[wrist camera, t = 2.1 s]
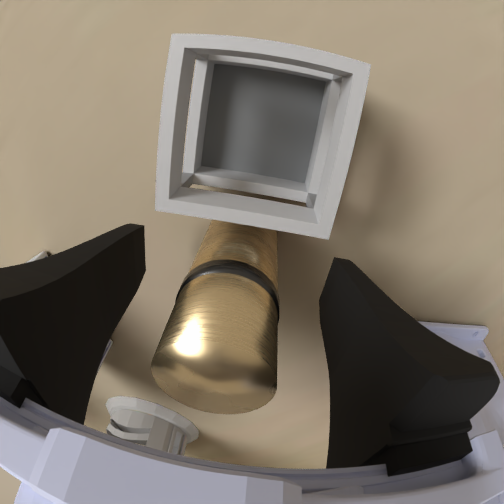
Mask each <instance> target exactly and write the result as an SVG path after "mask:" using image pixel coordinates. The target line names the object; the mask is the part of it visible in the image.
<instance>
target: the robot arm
mask: <svg viewBox="0 0 504 504" xmlns="http://www.w3.org/2000/svg"><path fill="white" fill-rule="evenodd" d="M145 271H146V265H145V239H144V226H143V225H137V224H131V223H130V224H126V225H123V226H121V227H118V228H116V229H113V230H111V231H109V232H107V233H104V234H102V235H100V236H98V237H96V238H94V239H91V240H89V241H87V242H84V243H82V244H80V245H77V246H75V247H73V248H70V249H68V250H65V251H63V252H60V253H57V254H55V255H52V256H49V257H46V258H42V259H39V260H35V261H31V262H27V263H24V264H20V265H15V266H10V267H5V268H0V467H2V468H3V469H4V470H6V471H7V472H9V473H10V474H11V475H13V476H14V477H16V478H18V479H19V480H20V481H22V482H21V485H20V487H19V490H18V493H17V496H16V499H15V502H14V504H504V447H503V446H504V379H503V377H502V375H501V373H500V371H499V369H498V367H497V365H496V363H495V361H494V359H493V357H492V356H491V354H490V352H489V350H488V348H487V347H486V345H485V343H484V341H483V340H484V338H485V337H486V336H487V334H488V331H489V330H488V328H487V327H486V326H475V325H460V324H446V323H433V322H421V321H416V320H415V319H414V318H412V317H411V316H410V315H409V314H407V313H406V312H405V311H404V310H402V309H401V308H400V307H399V306H398V305H397V304H396V303H395V302H393V301H392V300H391V299H390V298H389V297H388V296H387V295H386V294H385V293H384V292H383V291H382V290H381V289H380V288H379V287H378V286H377V285H375V284H374V283H373V282H372V281H371V280H370V279H369V278H368V277H367V276H366V275H365V274H364V273H363V272H362V271H361V270H360V269H359V268H358V267H357V266H356V265H355V264H354V263H353V262H351V261H350V260H347V259H341V258H335V257H334V260H333V263H332V265H331V268H330V271H329V274H328V277H327V280H326V283H325V286H324V288H323V291H322V294H321V297H320V299H319V307H320V324H321V330H322V335H323V341H324V347H325V352H326V358H327V364H328V370H329V379H330V433H329V448H328V457H327V466H326V469H287V468H268V467H255V466H245V465H236V464H228V463H221V462H215V461H209V460H203V459H197V458H192V457H187V456H182V455H178V454H173V453H169V452H165V451H161V450H157V449H153V448H150V447H146V446H142V445H139V444H136V443H132V442H129V441H126V440H123V439H120V438H117V437H114V436H111V435H108V434H105V433H103V432H100V431H97V430H95V429H92V428H89V427H87V426H84V420H85V415H86V411H87V406H88V402H89V398H90V394H91V391H92V387H93V384H94V380H95V377H96V374H97V371H98V368H99V365H100V362H101V360H102V357H103V354H104V352H105V349H106V347H107V344H108V342H109V340H110V338H111V336H112V334H113V332H114V330H115V328H116V326H117V325H118V323H119V321H120V320H121V318H122V316H123V314H124V313H125V311H126V309H127V308H128V306H129V304H130V302H131V301H132V299H133V297H134V296H135V294H136V292H137V290H138V288H139V286H140V283H141V281H142V279H143V276H144V274H145Z"/></svg>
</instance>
